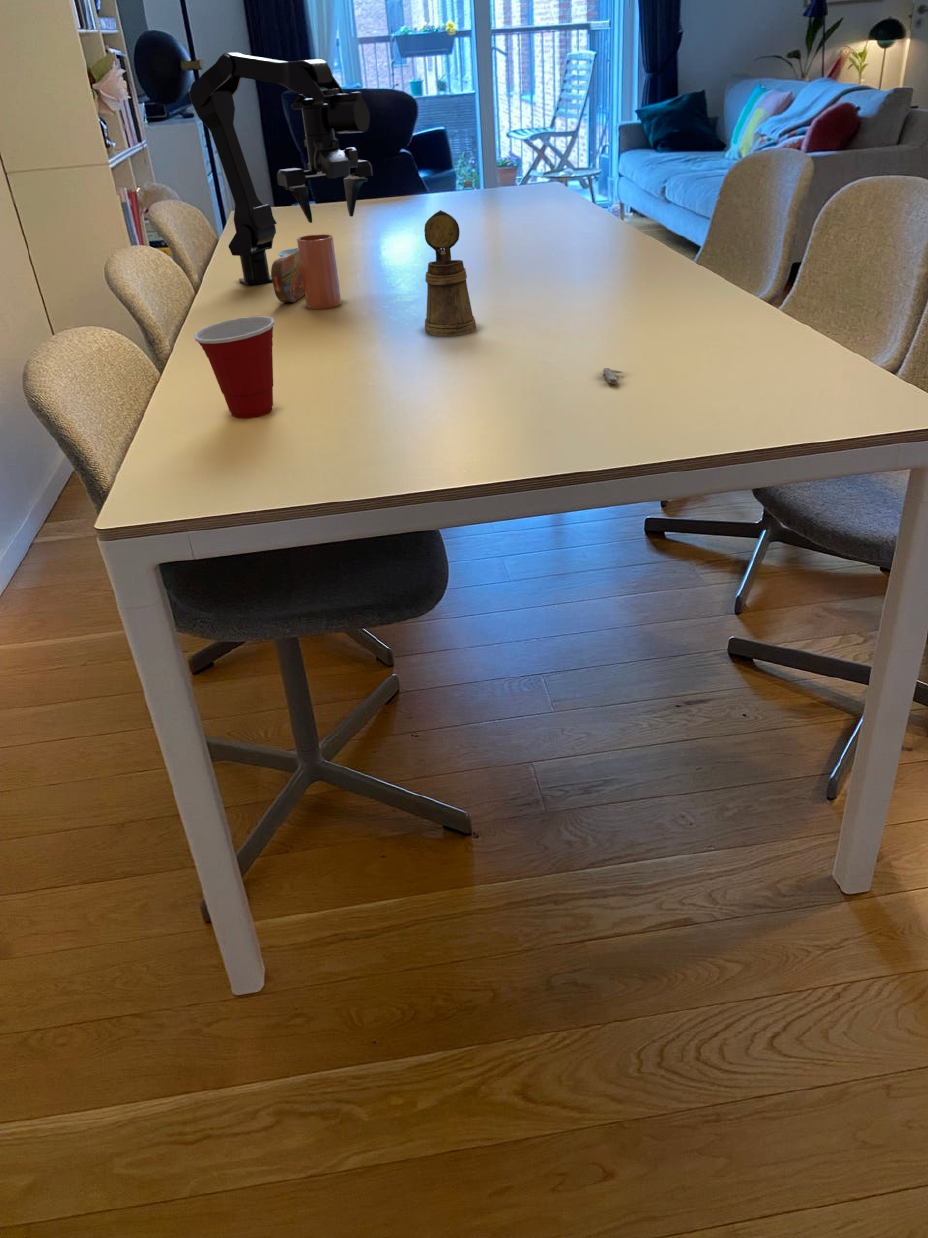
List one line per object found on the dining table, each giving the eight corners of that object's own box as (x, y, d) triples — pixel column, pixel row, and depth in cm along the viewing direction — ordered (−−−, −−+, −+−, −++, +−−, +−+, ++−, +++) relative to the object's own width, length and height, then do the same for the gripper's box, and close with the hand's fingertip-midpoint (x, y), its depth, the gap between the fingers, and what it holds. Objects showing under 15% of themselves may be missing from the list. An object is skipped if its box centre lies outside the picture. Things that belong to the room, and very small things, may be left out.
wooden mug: (472, 315, 165) (466, 207, 155) (478, 334, 154) (472, 219, 144) (423, 318, 165) (414, 211, 155) (425, 338, 153) (416, 224, 144)
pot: (312, 300, 183) (303, 234, 176) (345, 300, 181) (336, 233, 175) (302, 309, 177) (291, 241, 170) (335, 308, 176) (326, 239, 169)
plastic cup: (217, 402, 131) (199, 317, 124) (292, 396, 131) (278, 311, 125) (205, 429, 121) (185, 338, 115) (286, 422, 122) (270, 331, 116)
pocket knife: (629, 380, 126) (608, 378, 126) (628, 386, 127) (607, 384, 126) (621, 368, 131) (601, 366, 131) (620, 373, 132) (600, 372, 131)
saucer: (323, 254, 226) (322, 244, 225) (332, 262, 216) (331, 252, 215) (276, 259, 223) (274, 250, 222) (283, 268, 214) (281, 257, 212)
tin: (288, 306, 180) (281, 261, 175) (273, 306, 180) (266, 262, 176) (313, 289, 192) (307, 246, 188) (299, 289, 193) (293, 247, 188)
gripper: (290, 140, 169) (304, 230, 177) (380, 130, 177) (388, 216, 185) (269, 138, 177) (283, 224, 186) (356, 128, 185) (365, 211, 193)
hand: (331, 219), depth 187 cm, fingers open, 9 cm apart
